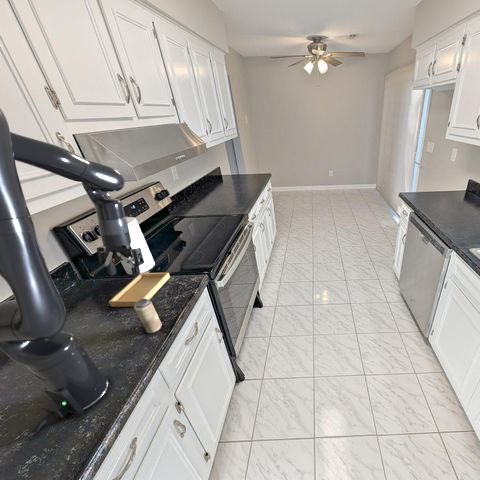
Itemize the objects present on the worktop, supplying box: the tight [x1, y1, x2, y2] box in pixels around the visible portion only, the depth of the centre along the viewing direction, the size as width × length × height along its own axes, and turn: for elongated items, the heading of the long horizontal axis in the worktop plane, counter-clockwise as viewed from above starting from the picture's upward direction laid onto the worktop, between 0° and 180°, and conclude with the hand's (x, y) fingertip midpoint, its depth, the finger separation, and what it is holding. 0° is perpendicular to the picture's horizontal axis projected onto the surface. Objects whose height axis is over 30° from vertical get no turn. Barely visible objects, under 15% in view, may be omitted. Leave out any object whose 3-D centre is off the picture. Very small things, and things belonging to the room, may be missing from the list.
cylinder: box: [119, 216, 156, 276], centre depth 122 cm, size 12×12×25 cm
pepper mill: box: [133, 299, 163, 334], centre depth 88 cm, size 5×5×12 cm
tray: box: [108, 272, 171, 308], centre depth 110 cm, size 20×14×3 cm
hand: (124, 275), depth 89 cm, fingers open, 8 cm apart
